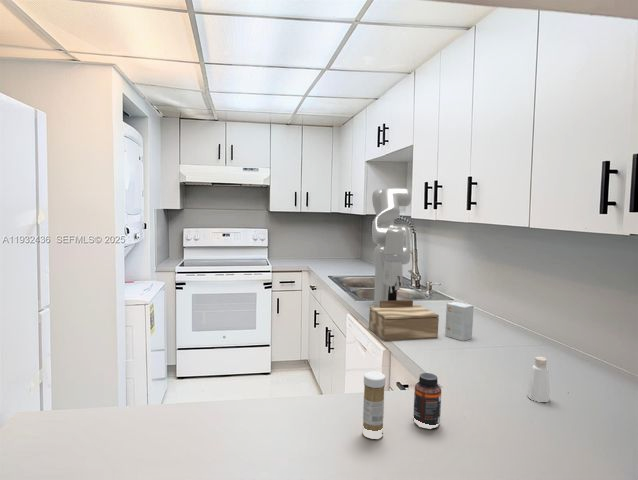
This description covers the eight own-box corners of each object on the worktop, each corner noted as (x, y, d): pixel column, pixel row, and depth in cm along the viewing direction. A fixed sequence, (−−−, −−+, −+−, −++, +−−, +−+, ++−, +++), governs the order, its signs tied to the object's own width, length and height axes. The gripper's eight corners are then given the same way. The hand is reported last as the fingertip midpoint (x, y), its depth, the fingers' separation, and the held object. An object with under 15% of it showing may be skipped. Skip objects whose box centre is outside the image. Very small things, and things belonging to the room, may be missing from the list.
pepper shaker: (522, 395, 111) (524, 355, 110) (537, 392, 113) (539, 353, 112) (539, 404, 106) (542, 362, 105) (554, 401, 108) (557, 360, 107)
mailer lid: (369, 308, 168) (369, 300, 168) (418, 307, 173) (419, 299, 173) (385, 319, 153) (385, 310, 152) (438, 317, 158) (439, 308, 158)
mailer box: (368, 328, 169) (369, 309, 168) (417, 326, 174) (418, 307, 173) (384, 341, 153) (385, 320, 153) (437, 338, 159) (438, 317, 158)
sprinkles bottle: (381, 429, 92) (383, 370, 91) (384, 441, 87) (387, 379, 86) (360, 429, 92) (363, 370, 91) (362, 440, 87) (365, 378, 86)
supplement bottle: (445, 427, 94) (448, 378, 93) (426, 433, 91) (428, 383, 90) (426, 415, 99) (428, 369, 98) (407, 420, 96) (409, 373, 95)
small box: (472, 338, 160) (474, 305, 159) (463, 341, 156) (465, 307, 155) (453, 333, 166) (455, 301, 165) (444, 335, 162) (446, 303, 161)
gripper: (378, 256, 178) (376, 298, 179) (392, 260, 164) (391, 306, 165) (394, 256, 180) (392, 298, 181) (410, 260, 165) (408, 305, 167)
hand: (392, 301), depth 173 cm, fingers closed
